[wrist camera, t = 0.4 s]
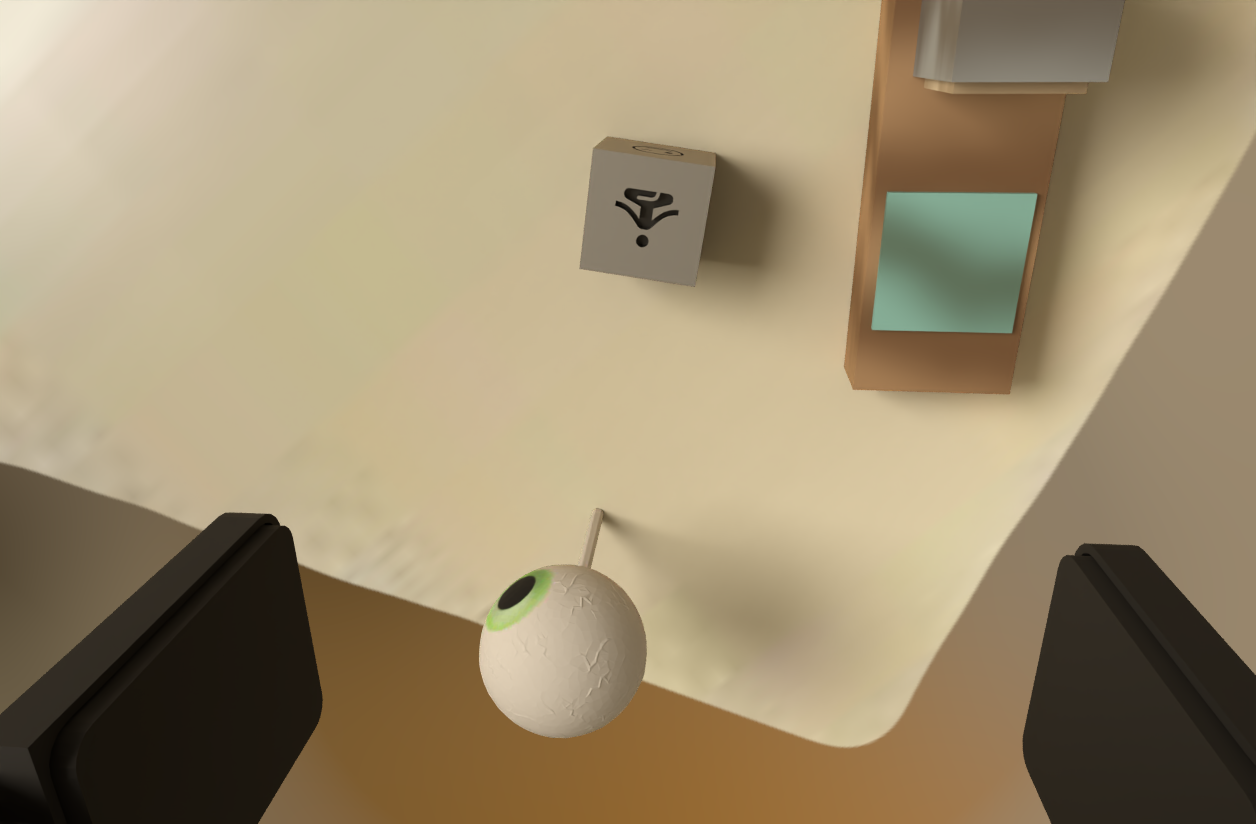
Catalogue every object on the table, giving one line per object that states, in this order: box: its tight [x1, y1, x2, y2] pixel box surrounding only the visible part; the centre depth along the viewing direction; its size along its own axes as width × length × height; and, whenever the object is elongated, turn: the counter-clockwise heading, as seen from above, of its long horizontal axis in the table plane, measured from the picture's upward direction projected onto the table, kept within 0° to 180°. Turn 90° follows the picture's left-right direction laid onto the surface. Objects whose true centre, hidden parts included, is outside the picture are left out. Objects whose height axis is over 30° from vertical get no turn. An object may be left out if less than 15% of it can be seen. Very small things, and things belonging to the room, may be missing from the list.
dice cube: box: [580, 137, 716, 287], centre depth 37 cm, size 5×5×5 cm
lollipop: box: [479, 508, 647, 738], centre depth 40 cm, size 7×7×15 cm
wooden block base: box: [844, 0, 1125, 394], centre depth 33 cm, size 20×7×9 cm, turn 0°
